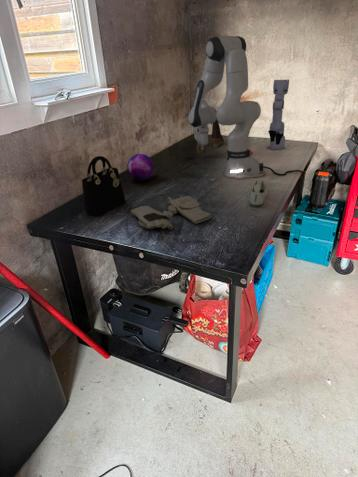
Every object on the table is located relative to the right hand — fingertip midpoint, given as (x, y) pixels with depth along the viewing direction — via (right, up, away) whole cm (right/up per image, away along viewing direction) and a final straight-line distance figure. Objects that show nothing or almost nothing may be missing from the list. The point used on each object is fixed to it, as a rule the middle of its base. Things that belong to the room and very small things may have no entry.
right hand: (274, 142), depth 213 cm
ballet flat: (-24, -42, -53) cm, 72 cm away
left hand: (-48, -3, +5) cm, 48 cm away
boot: (-33, +10, +38) cm, 51 cm away
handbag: (-97, -47, -54) cm, 121 cm away
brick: (-48, -5, +6) cm, 48 cm away
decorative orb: (-84, -28, -23) cm, 91 cm away
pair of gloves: (-66, -53, -67) cm, 108 cm away
